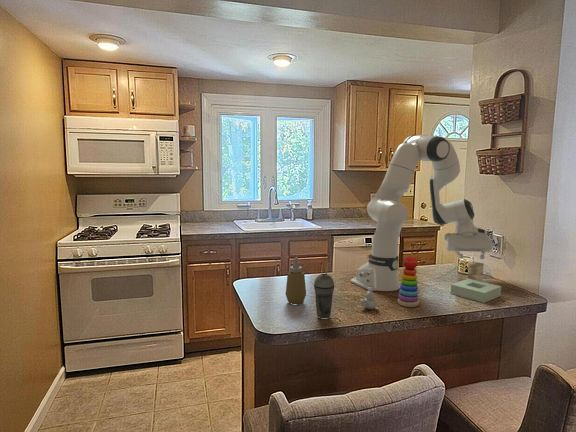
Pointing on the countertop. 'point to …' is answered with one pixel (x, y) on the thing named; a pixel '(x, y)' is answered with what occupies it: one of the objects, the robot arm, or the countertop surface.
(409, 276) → the stacking toy
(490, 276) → the countertop surface
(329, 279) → the beverage cup
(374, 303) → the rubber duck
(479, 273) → the peg
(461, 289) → the socket block
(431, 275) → the countertop surface
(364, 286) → the robot arm
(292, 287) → the squeeze bottle
